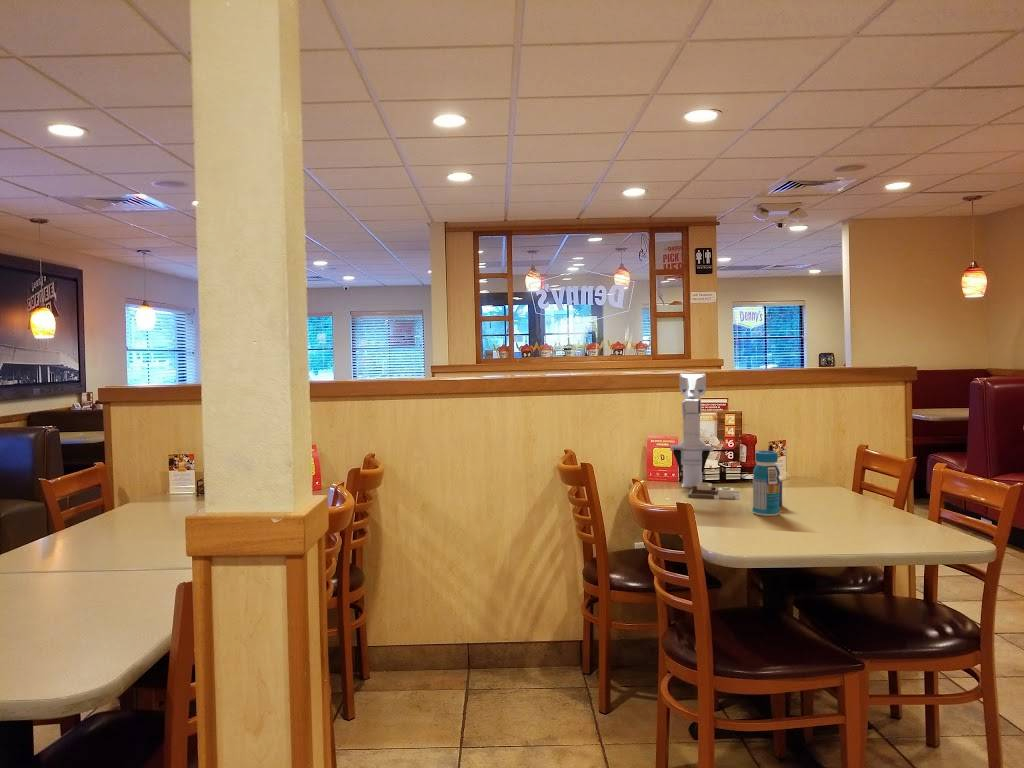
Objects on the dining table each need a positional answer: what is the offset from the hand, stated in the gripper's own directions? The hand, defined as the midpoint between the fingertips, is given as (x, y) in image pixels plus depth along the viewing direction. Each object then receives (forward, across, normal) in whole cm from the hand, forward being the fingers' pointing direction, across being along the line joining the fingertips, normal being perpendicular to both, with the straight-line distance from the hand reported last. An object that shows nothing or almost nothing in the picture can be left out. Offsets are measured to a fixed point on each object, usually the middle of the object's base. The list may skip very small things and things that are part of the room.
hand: (691, 471), depth 267 cm
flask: (+10, +26, -4) cm, 28 cm away
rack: (+10, +6, +11) cm, 17 cm away
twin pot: (+10, +4, +16) cm, 19 cm away
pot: (+10, +12, +8) cm, 17 cm away
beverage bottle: (+10, +25, -16) cm, 31 cm away
